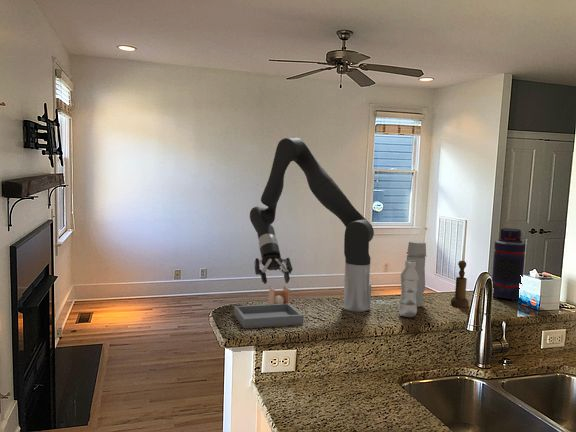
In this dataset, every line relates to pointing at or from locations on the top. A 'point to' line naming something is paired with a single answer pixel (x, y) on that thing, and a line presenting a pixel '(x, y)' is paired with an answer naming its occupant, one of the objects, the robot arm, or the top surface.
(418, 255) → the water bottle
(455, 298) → the wooden pepper mill
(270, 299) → the scoop cup
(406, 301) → the plastic bottle
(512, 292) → the striped lidded canister
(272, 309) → the tray
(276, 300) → the ball
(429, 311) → the top surface
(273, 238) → the robot arm
